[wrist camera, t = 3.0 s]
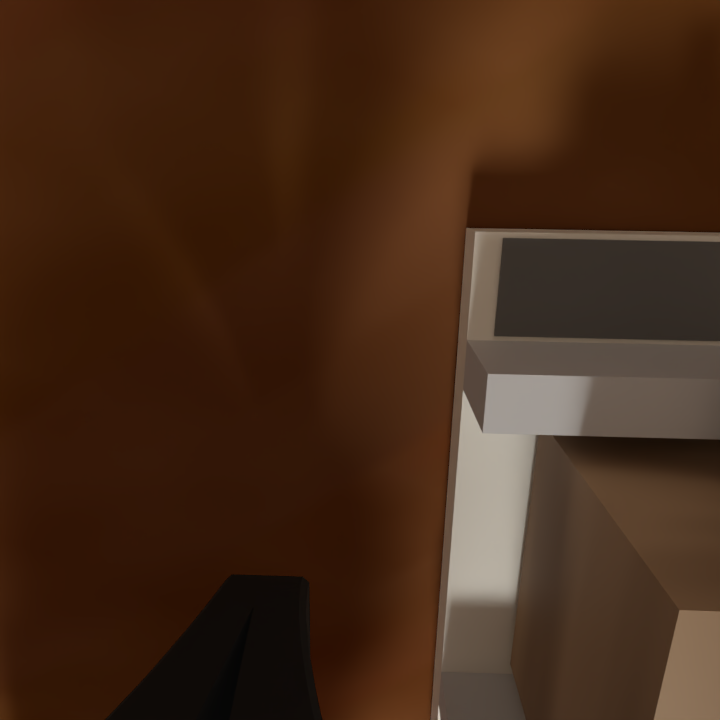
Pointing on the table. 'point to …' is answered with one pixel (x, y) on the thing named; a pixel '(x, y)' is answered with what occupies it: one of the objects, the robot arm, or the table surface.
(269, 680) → the robot arm
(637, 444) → the gauge slider
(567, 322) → the gauge base
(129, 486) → the table surface
